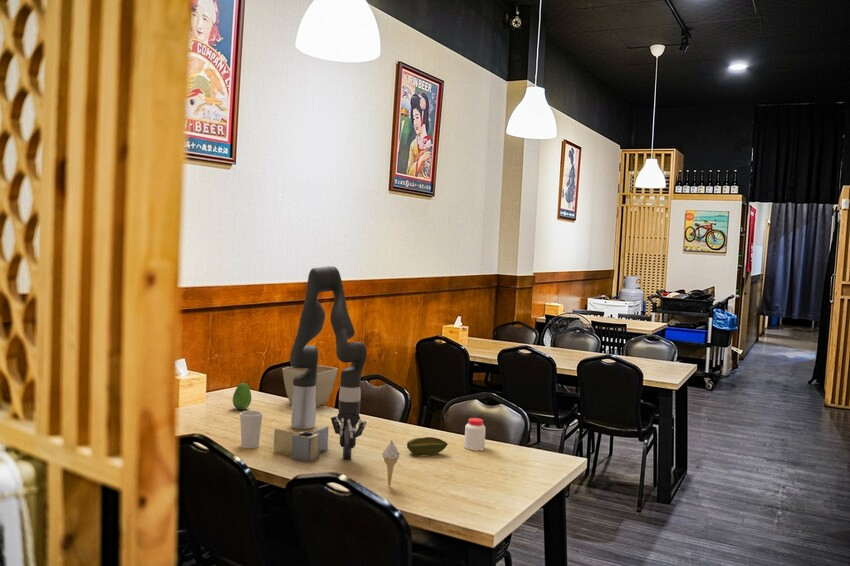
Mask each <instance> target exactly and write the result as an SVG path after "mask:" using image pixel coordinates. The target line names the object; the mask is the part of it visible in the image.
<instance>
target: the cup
mask: <svg viewBox="0 0 850 566" xmlns="http://www.w3.org/2000/svg"><path fill="white" fill-rule="evenodd" d="M239 418H240V419H239V420H240V437H241V439H240V441H241V442H240V446H241V447H242V448H243V449H244V448H245V449H256V448H259V446H260V438H261V429H262V420H263V411H259V410H243V411H241V412H240V413H239Z"/></svg>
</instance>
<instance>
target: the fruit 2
mask: <svg viewBox="0 0 850 566" xmlns="http://www.w3.org/2000/svg"><path fill="white" fill-rule="evenodd" d="M448 445H449V444H448V443H447V442H446V441H444V440H443V439H441V438H438V437H429V436H428V437H427V436H426V437H417V438H413V439H411V440H410V439H409V441H407V443H406V449H408V450H409V452H410V453H411V454H413V455H415V456H419V455H429V456H432V455H438V454H439V453H440V452H441V453H442V451H443V450H445V449H446V448H447V446H448Z"/></svg>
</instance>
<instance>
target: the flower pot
mask: <svg viewBox="0 0 850 566" xmlns="http://www.w3.org/2000/svg"><path fill="white" fill-rule="evenodd" d="M307 369H308V368H300V369H299V368H293V367H292V366H291V365H290V366H287V367H283V368H282V378H283V383H284V388H285V392H286V395H287V399H288V402H289V404H290V405H292V396H293V379H294V378H295V377H296V376H299V375H301V374H303V373H305V372H306V371H307ZM337 375H338V368H337V367H331V366H325V365H319V364H318V365H317V377H316V394H315V402H316V408H317V407H320V406H323V405H326V404H327V403H328V401H329V398H330V396H331V393H332V391H333V388H334V386H335V385H334V384H335V382H336V378H337Z"/></svg>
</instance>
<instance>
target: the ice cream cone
mask: <svg viewBox="0 0 850 566" xmlns="http://www.w3.org/2000/svg"><path fill="white" fill-rule="evenodd" d="M400 454H401V453H400V452H399V451H398V448H397V447H396V445H395V444H394V442H393V440H392V439H391V440H390V442H389V444H388V445H387V446H386V448H385V449H384V450H383V451H382V453H381V455H382V458H383V462H384V463H385V464H386V468H387V469H386V470H387V486H388V487H389V486H390V487H391V483H392V477H393V472H394V467H395V465H396V464H397V463H398V461H399V458H400Z"/></svg>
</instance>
